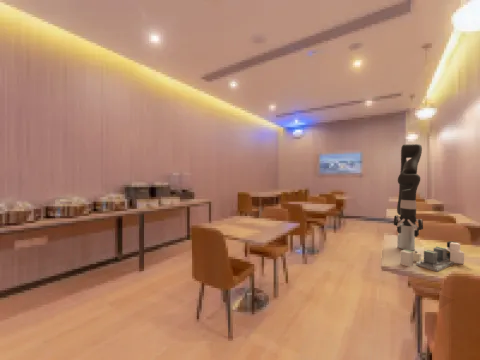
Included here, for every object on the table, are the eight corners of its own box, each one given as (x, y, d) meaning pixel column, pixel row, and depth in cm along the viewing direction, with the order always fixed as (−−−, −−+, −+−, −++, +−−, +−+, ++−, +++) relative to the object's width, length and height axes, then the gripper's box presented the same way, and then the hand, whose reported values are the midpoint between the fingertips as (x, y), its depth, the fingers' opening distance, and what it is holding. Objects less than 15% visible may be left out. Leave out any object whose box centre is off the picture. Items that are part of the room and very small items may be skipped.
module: (400, 264, 134) (400, 250, 134) (404, 262, 136) (405, 249, 136) (408, 266, 130) (409, 252, 130) (413, 265, 132) (413, 251, 132)
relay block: (411, 260, 139) (411, 251, 139) (412, 258, 142) (412, 249, 142) (419, 262, 136) (419, 253, 136) (420, 260, 139) (420, 251, 139)
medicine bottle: (442, 258, 142) (443, 240, 142) (456, 259, 140) (457, 241, 140) (449, 262, 136) (450, 243, 135) (464, 264, 134) (464, 244, 133)
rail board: (415, 265, 132) (416, 250, 132) (433, 258, 143) (433, 244, 142) (437, 271, 123) (437, 255, 123) (453, 264, 134) (454, 249, 134)
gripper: (391, 206, 136) (391, 232, 137) (419, 209, 124) (418, 238, 124) (398, 205, 140) (397, 231, 140) (425, 208, 128) (425, 236, 128)
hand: (407, 234), depth 132 cm, fingers open, 8 cm apart
